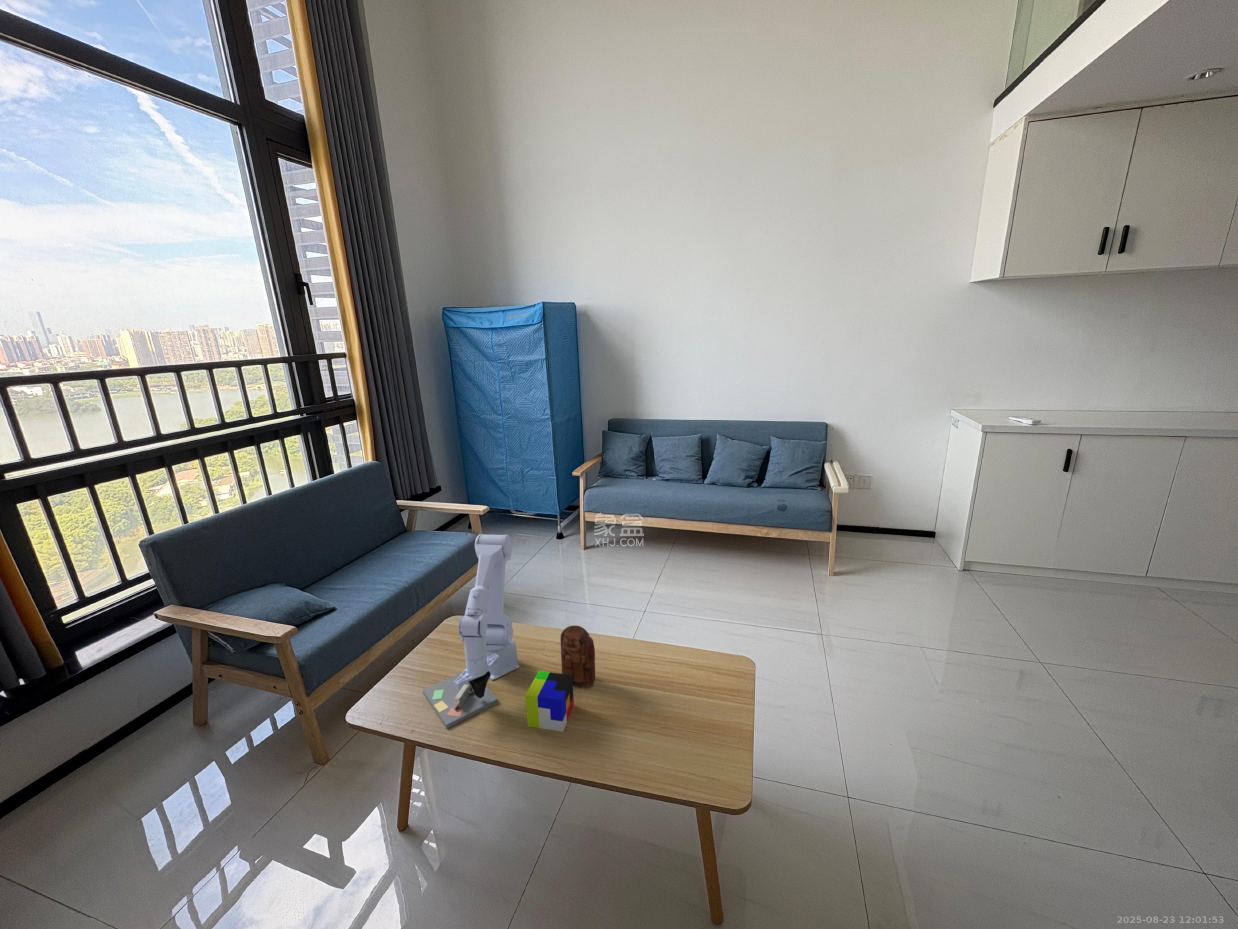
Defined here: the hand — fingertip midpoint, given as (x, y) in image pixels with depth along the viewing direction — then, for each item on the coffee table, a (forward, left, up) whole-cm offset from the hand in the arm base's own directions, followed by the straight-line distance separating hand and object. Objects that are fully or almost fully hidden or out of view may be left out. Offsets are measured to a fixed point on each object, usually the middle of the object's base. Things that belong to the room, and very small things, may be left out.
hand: (479, 696), depth 140 cm
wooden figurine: (-27, +10, -3) cm, 29 cm away
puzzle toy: (-13, +17, -3) cm, 22 cm away
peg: (+3, -4, -1) cm, 5 cm away
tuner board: (+3, -7, -3) cm, 8 cm away
